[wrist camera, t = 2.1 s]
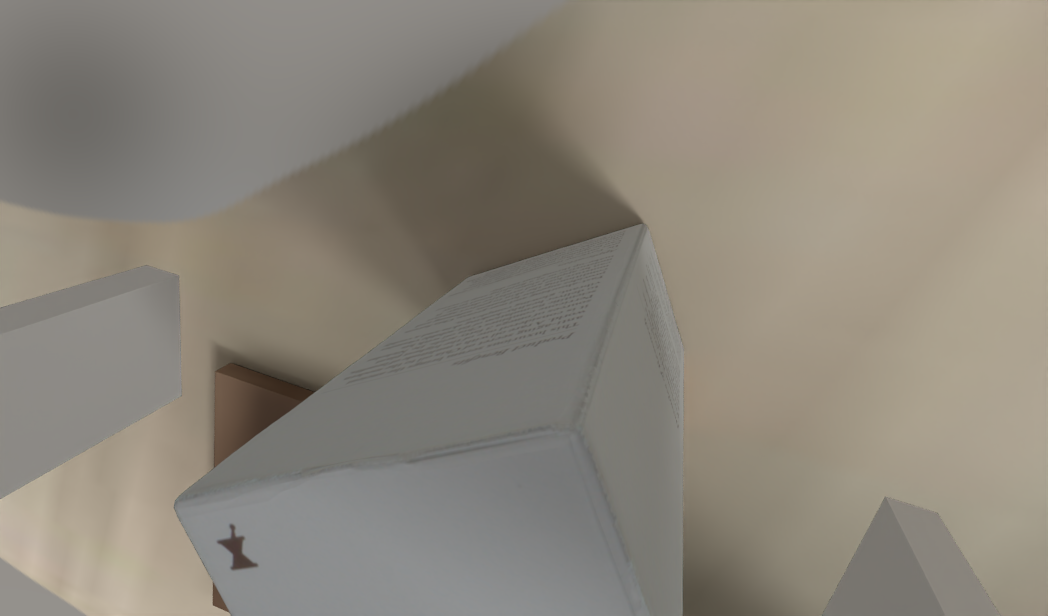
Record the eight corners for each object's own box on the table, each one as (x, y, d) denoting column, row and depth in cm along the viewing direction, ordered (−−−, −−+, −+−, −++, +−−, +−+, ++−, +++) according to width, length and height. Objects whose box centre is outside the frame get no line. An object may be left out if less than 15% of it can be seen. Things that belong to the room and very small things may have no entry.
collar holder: (664, 513, 20) (659, 584, 17) (580, 745, 24) (564, 833, 21) (230, 363, 23) (161, 400, 20) (225, 591, 27) (168, 650, 24)
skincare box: (512, 392, 20) (283, 740, 9) (467, 274, 19) (151, 496, 8) (693, 351, 18) (691, 744, 7) (652, 217, 17) (572, 411, 6)
